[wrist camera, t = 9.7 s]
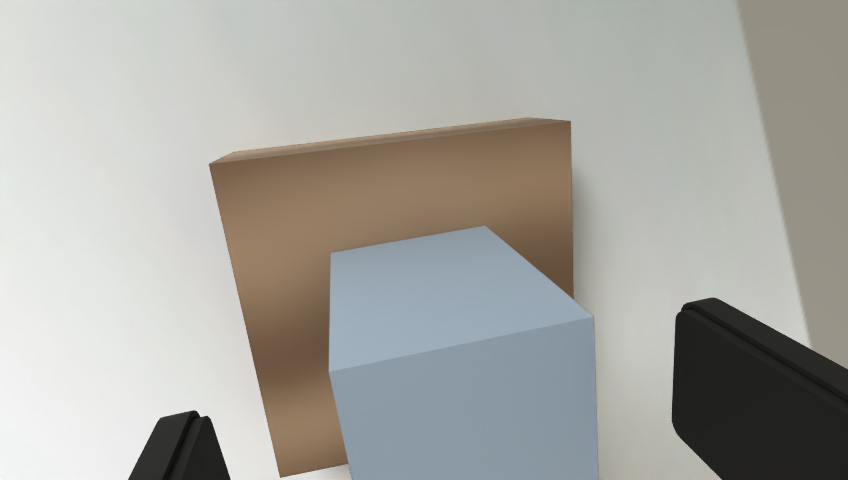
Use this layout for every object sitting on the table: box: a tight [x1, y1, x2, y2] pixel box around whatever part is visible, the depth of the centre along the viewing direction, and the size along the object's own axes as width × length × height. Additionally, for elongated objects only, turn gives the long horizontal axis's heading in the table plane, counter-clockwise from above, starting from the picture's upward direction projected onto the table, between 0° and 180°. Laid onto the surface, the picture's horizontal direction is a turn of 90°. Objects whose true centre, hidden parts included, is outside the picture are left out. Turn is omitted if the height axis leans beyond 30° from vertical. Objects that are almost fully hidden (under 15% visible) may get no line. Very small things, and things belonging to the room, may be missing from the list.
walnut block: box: [209, 118, 573, 478], centre depth 18 cm, size 11×11×4 cm
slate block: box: [329, 226, 599, 480], centre depth 13 cm, size 5×5×7 cm
